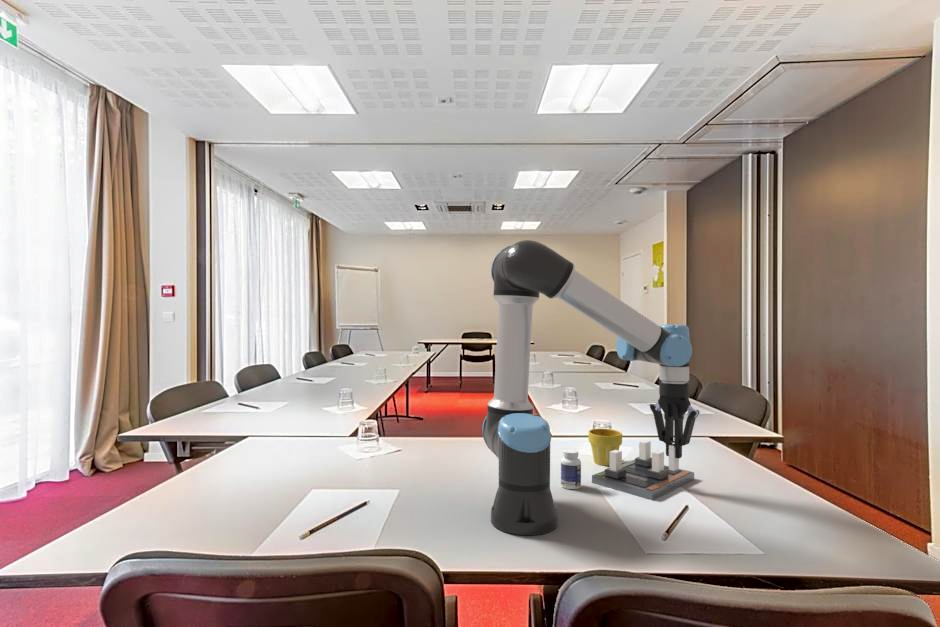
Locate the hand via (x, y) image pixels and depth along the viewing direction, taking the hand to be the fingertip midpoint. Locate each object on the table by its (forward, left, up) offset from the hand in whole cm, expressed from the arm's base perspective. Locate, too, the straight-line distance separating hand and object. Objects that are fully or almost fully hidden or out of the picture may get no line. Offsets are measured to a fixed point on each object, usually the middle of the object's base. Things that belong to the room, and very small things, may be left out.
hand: (673, 469), depth 137 cm
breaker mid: (0, +5, -3) cm, 5 cm away
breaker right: (+8, +13, -3) cm, 15 cm away
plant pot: (+7, +26, -6) cm, 27 cm away
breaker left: (-8, +13, -3) cm, 15 cm away
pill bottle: (-19, +20, -6) cm, 28 cm away
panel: (0, +9, -5) cm, 10 cm away
